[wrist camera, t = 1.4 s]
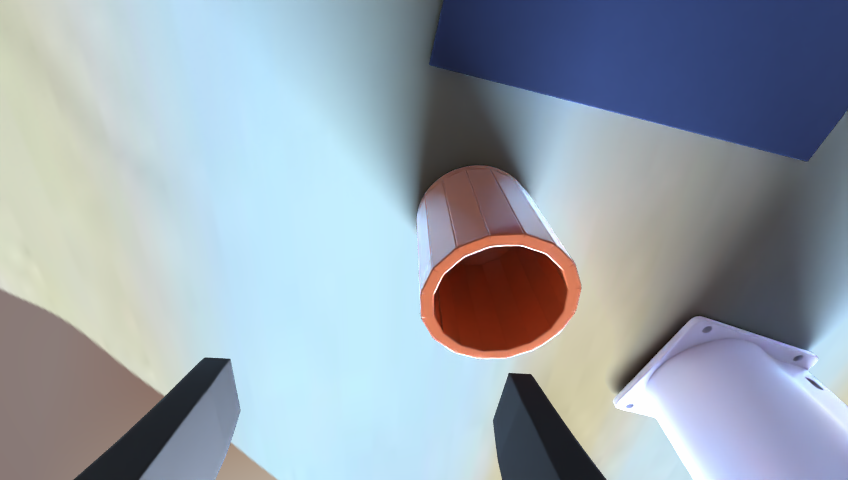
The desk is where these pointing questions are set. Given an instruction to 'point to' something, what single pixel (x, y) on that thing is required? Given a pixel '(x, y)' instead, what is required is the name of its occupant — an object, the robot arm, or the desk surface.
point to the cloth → (668, 61)
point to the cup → (491, 266)
